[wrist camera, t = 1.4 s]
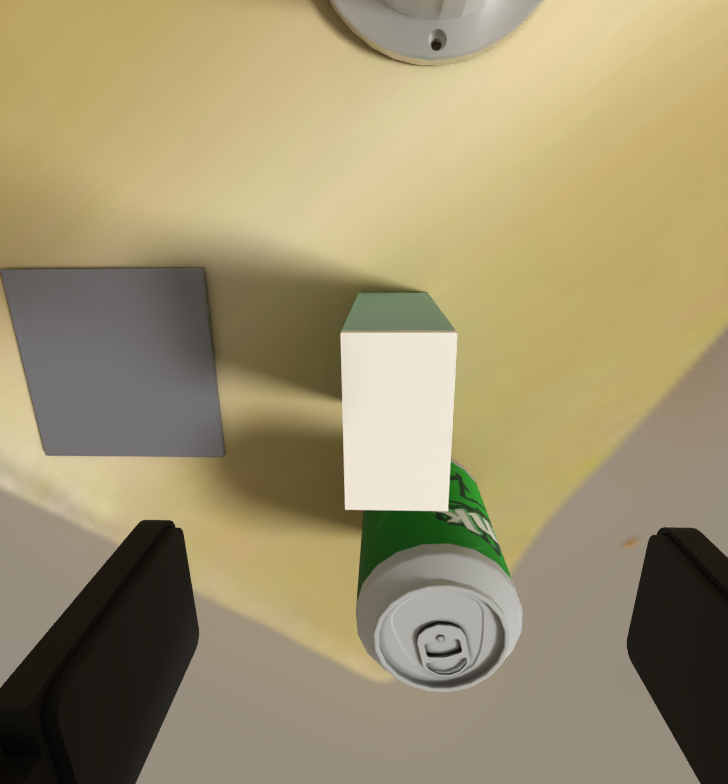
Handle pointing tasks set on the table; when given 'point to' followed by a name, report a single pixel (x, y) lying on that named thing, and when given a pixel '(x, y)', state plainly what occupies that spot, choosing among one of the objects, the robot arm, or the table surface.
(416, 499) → the teal block
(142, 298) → the rubber mat
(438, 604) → the soda can
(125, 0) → the table surface
